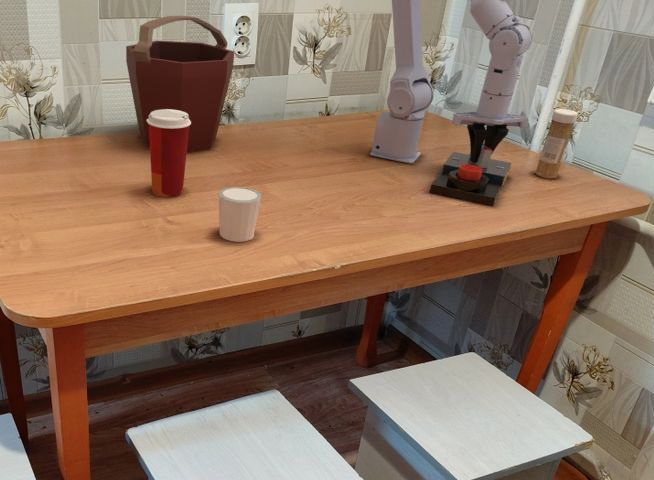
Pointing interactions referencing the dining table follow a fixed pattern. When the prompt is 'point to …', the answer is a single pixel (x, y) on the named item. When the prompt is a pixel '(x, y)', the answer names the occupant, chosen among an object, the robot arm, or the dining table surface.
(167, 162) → the paper cup
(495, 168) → the base
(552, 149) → the spice jar
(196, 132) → the bucket
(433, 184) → the button box
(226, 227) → the white tapered cup
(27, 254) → the dining table surface
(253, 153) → the dining table surface
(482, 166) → the tap lever
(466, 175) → the red button
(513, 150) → the dining table surface
